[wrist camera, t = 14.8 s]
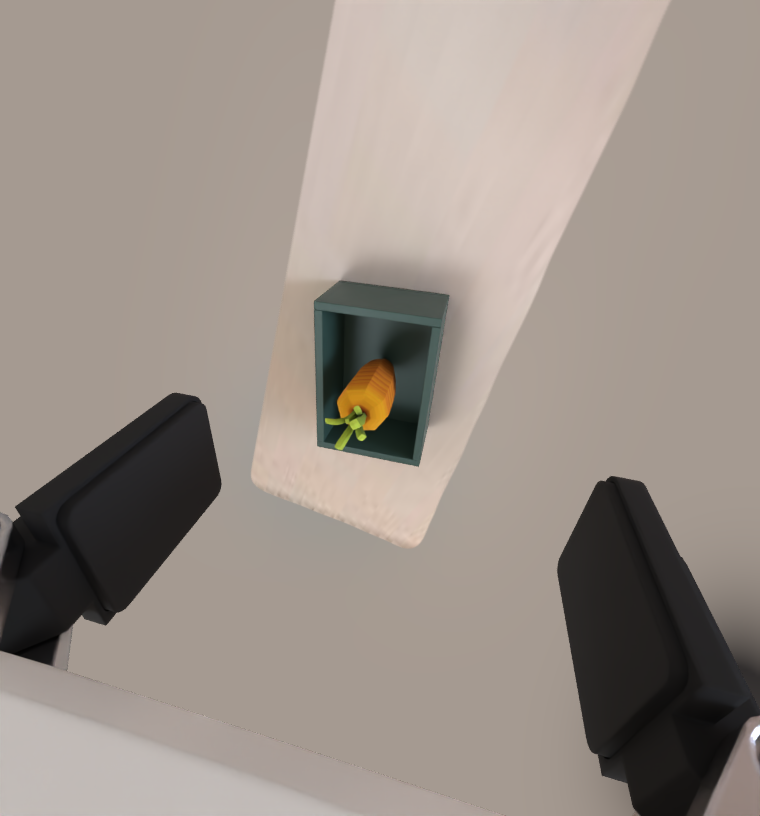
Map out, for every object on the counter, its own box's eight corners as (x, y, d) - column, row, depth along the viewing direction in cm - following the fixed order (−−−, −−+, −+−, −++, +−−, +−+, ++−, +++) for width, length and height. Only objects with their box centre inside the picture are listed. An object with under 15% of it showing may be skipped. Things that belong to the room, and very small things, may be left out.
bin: (339, 280, 41) (313, 301, 35) (449, 294, 40) (442, 319, 33) (338, 411, 50) (317, 446, 44) (427, 427, 49) (418, 466, 42)
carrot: (379, 387, 46) (340, 468, 34) (356, 352, 45) (306, 425, 32) (415, 370, 44) (387, 451, 32) (393, 333, 43) (354, 403, 30)
